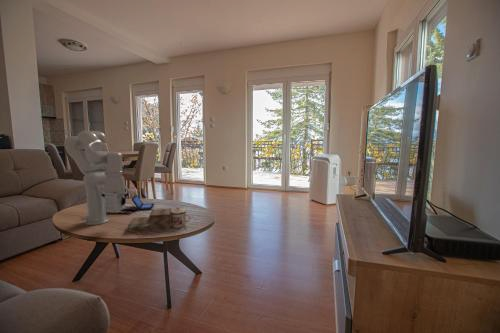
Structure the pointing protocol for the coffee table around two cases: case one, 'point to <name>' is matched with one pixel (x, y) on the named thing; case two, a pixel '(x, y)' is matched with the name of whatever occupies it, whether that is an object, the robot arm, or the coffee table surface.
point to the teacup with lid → (178, 217)
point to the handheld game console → (141, 204)
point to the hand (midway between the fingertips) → (115, 204)
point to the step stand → (152, 221)
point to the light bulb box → (113, 202)
